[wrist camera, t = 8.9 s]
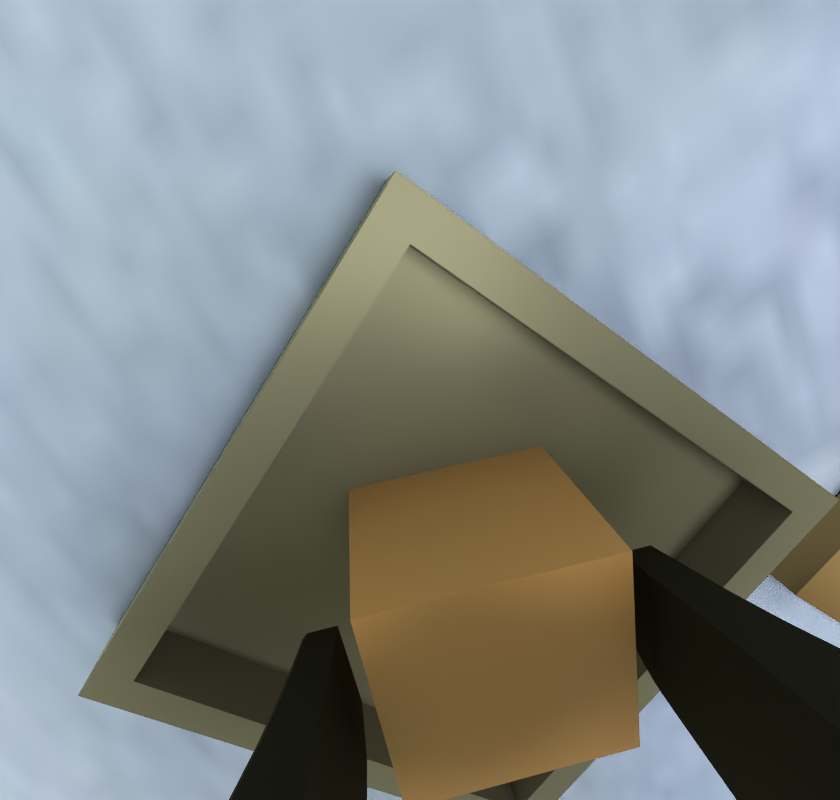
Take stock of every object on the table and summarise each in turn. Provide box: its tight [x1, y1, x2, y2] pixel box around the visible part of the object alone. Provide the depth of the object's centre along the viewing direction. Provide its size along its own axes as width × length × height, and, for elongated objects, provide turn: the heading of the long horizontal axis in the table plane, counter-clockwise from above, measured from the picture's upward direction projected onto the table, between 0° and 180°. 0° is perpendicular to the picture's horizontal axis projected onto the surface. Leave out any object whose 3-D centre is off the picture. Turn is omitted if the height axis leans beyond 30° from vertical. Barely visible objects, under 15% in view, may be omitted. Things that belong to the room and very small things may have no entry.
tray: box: [78, 170, 839, 800], centre depth 12 cm, size 12×12×2 cm
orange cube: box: [349, 446, 640, 800], centre depth 11 cm, size 4×4×4 cm
